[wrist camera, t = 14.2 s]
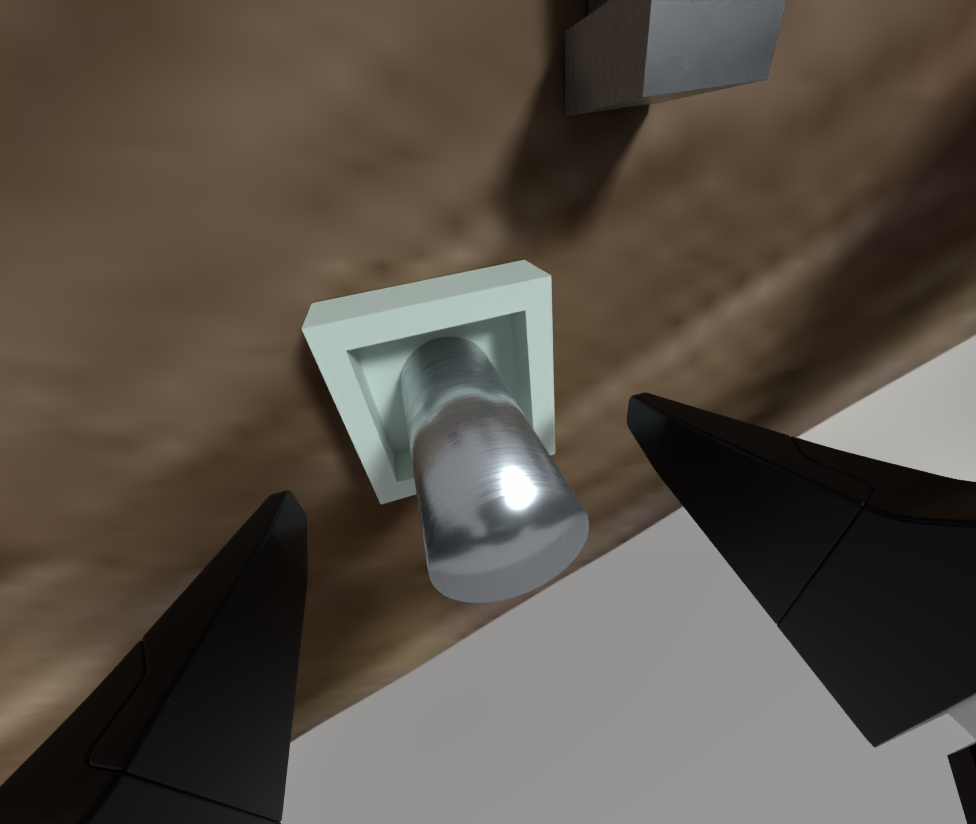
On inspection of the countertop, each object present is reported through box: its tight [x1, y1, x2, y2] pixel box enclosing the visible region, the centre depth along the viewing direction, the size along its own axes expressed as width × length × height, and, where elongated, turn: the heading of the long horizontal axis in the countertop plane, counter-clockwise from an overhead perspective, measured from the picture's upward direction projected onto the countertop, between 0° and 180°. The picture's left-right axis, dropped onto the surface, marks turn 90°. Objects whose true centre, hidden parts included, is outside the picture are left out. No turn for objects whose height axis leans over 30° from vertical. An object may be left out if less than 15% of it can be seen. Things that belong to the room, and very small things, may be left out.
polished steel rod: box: [400, 337, 589, 603], centre depth 10 cm, size 3×3×7 cm
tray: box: [302, 260, 555, 504], centre depth 12 cm, size 7×7×2 cm
